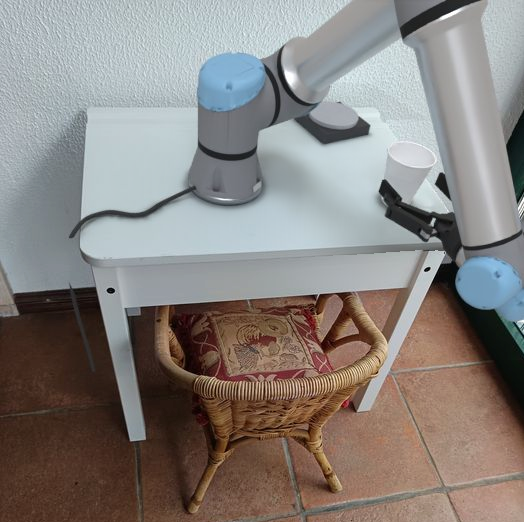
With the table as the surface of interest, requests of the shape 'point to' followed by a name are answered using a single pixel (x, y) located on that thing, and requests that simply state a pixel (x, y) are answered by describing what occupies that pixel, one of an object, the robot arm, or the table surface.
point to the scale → (334, 122)
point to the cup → (407, 168)
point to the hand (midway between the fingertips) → (410, 181)
